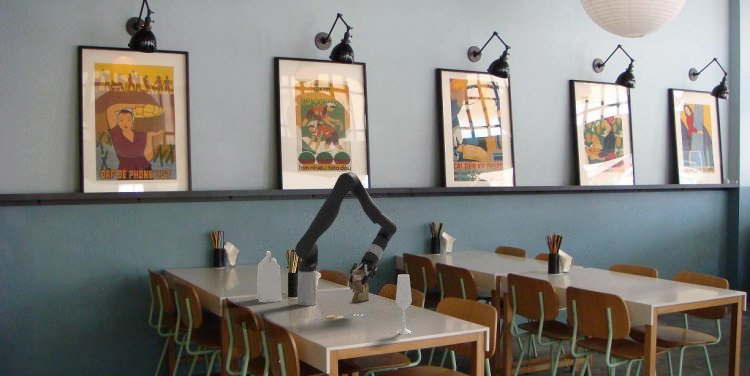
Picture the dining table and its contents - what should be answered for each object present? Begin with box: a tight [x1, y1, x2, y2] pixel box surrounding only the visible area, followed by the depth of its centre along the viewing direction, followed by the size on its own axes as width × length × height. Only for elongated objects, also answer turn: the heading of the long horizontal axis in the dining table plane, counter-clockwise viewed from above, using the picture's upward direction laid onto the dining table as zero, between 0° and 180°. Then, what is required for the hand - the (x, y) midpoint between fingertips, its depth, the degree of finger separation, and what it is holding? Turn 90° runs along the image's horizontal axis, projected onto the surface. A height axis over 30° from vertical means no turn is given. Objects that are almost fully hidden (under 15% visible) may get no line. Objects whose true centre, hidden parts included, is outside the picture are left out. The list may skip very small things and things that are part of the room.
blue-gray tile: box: [344, 312, 373, 319], centre depth 342 cm, size 12×12×1 cm
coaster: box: [323, 314, 344, 320], centre depth 337 cm, size 9×9×1 cm
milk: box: [256, 250, 283, 303], centre depth 388 cm, size 12×12×26 cm
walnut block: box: [352, 270, 365, 294], centre depth 342 cm, size 5×5×10 cm
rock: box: [351, 282, 370, 303], centre depth 384 cm, size 11×9×10 cm
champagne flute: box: [395, 273, 413, 335], centre depth 305 cm, size 7×7×24 cm
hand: (356, 282), depth 340 cm, fingers closed on walnut block, 7 cm apart
